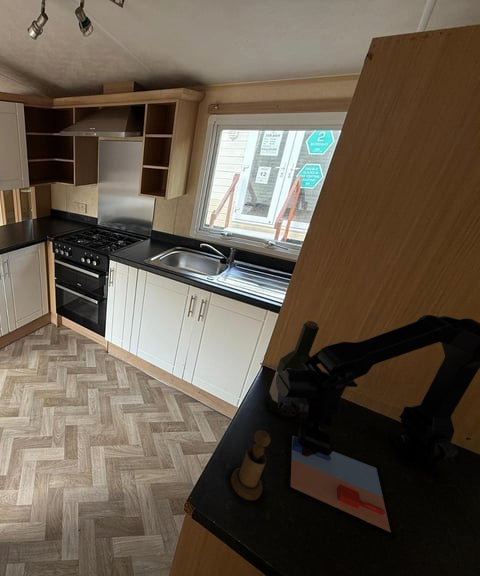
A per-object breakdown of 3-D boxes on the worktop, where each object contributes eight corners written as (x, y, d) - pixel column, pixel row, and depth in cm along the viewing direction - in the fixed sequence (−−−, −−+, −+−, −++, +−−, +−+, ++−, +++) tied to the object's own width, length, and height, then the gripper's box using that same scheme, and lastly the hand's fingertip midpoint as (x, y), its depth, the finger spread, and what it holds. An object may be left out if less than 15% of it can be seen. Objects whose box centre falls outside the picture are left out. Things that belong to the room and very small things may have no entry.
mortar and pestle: (264, 504, 69) (286, 451, 61) (233, 498, 70) (251, 445, 62) (256, 475, 75) (275, 423, 67) (228, 470, 76) (243, 418, 68)
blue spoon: (329, 455, 79) (332, 451, 78) (330, 465, 77) (333, 460, 76) (292, 441, 83) (294, 436, 82) (292, 450, 80) (294, 445, 80)
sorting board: (375, 469, 76) (376, 468, 76) (389, 533, 64) (390, 532, 64) (291, 436, 85) (292, 435, 84) (289, 488, 72) (290, 486, 72)
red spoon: (382, 508, 68) (385, 503, 67) (384, 521, 66) (388, 516, 65) (336, 488, 72) (339, 483, 71) (337, 500, 69) (340, 495, 69)
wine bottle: (297, 404, 95) (331, 320, 82) (296, 423, 89) (332, 336, 75) (267, 393, 99) (294, 312, 86) (264, 410, 93) (292, 326, 79)
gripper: (286, 361, 83) (271, 404, 90) (282, 408, 69) (265, 455, 76) (336, 376, 78) (316, 420, 85) (344, 430, 64) (319, 478, 71)
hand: (303, 441), depth 79 cm, fingers open, 9 cm apart
